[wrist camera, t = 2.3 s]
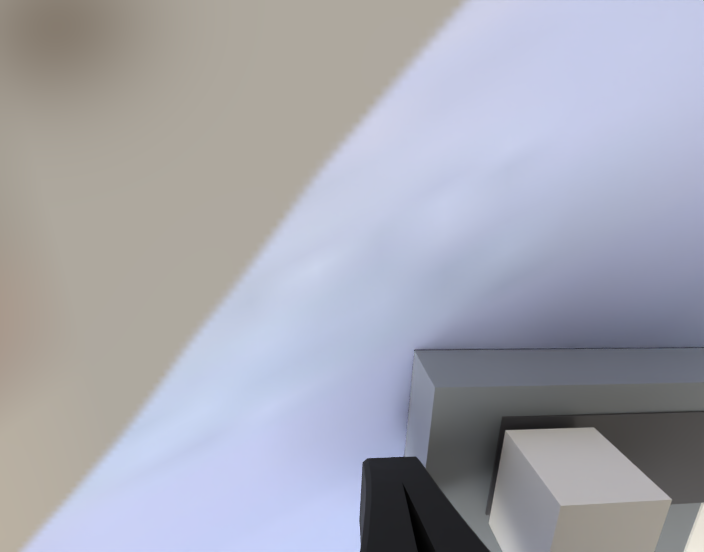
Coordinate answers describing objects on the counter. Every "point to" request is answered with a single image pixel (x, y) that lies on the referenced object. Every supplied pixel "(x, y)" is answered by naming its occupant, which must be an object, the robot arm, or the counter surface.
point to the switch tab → (573, 495)
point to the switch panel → (562, 421)
